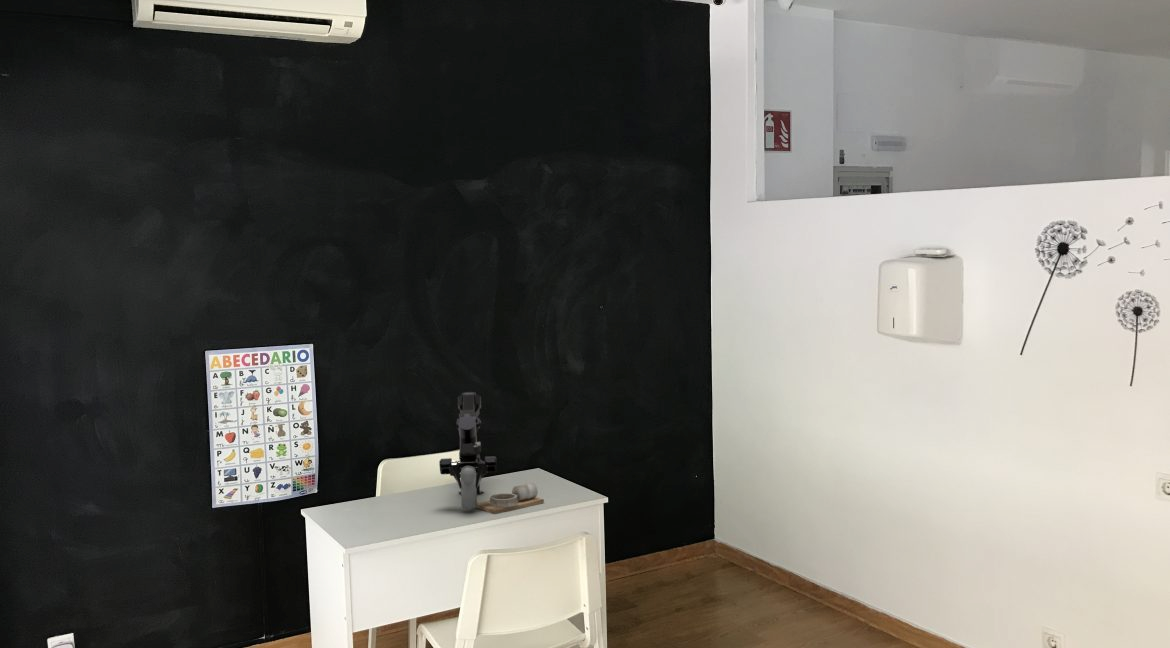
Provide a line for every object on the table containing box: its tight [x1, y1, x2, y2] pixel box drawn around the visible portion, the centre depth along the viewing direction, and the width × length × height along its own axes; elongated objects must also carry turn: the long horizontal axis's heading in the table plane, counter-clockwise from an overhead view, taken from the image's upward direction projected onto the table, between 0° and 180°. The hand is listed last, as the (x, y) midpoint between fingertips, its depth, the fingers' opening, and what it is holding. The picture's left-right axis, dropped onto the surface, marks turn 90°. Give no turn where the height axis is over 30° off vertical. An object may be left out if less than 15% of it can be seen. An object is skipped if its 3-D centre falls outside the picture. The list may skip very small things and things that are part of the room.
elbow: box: [460, 465, 478, 509], centre depth 293 cm, size 7×5×14 cm
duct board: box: [476, 482, 545, 515], centre depth 302 cm, size 12×20×6 cm, turn 130°
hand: (468, 487), depth 293 cm, fingers closed on elbow, 5 cm apart
